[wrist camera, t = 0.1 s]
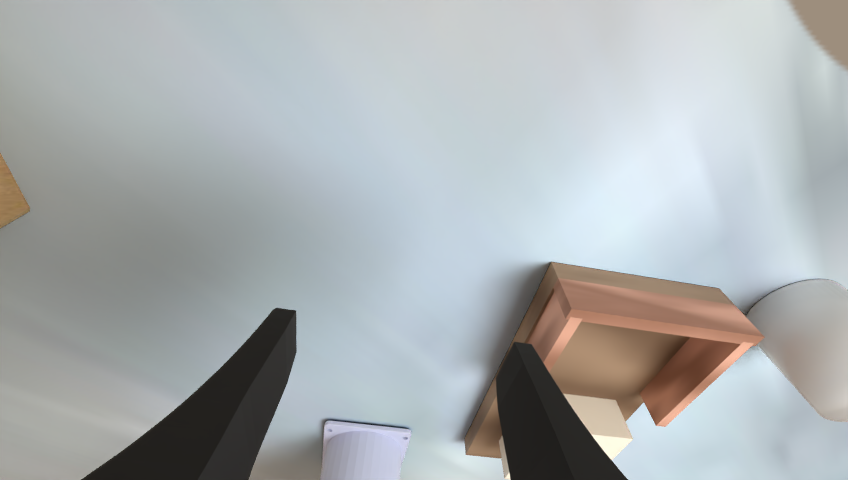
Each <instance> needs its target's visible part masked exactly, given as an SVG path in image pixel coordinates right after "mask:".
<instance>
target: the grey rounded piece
mask: <svg viewBox="0 0 848 480" xmlns="http://www.w3.org/2000/svg"><path fill="white" fill-rule="evenodd" d="M746 318H747V319H748V320H749V321H750V322H751V323H752V324H753V325H754V326H755V327H756V328H757V329H758V330H759V331H760V332H761V334H762V335H763V336H764V337H765V338H763V339H762V340H761V341H760V342H759V343H758V344H757V346H758V347H759V348H760V349H761V350H762V351H763V353H764V354H765V355H766V356H767V357H768V358H769V359H770V360H771V361H772V363H773V364H774V365H775V366H776V367H777V368H778V369H779V370H780V371H781V373H782V374H783V375H784V376H785V377H786V378H787V379H788V380H789V382H790V383H791V384H792V385H793V386H794V387H795V388H796V389H797V390H798V392H799V393H800V394H801V395H802V396H803V397H804V398H805V399H806V400H807V402H808V403H809V404H810V405H811V406H812V407H813V408H814V409H815V410H816V412H817V413H818V414H819V415H820V416H822V417H823V418H825V419H828V420H832V421H839V422H848V290H847V289H846V288H845V287H843V286H842V285H840V284H839V283H837V282H835V281H832V280H826V279H812V280H805V281H800V282H796V283H793V284H790V285H787V286H785V287H782V288H780V289H778V290H776V291H774V292H772V293H770V294H769V295H767V296H766V297H764V298H763V299H761V300H760V301H759V302H757V303H756V304H755V305H754V306H753V307H752V308H751V310H750V311H749V312H748V314H747V315H746Z"/></svg>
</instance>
